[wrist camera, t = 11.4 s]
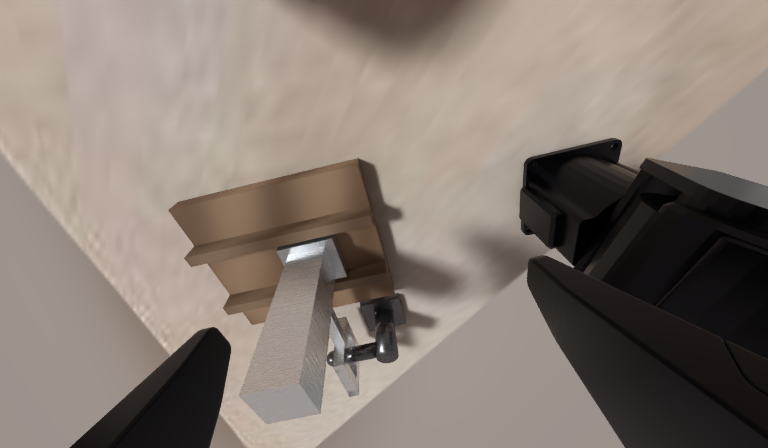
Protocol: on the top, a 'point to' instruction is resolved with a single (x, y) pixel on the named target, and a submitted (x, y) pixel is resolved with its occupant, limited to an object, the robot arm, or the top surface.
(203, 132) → the top surface
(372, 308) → the keeper hook
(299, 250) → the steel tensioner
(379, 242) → the track board
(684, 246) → the robot arm
